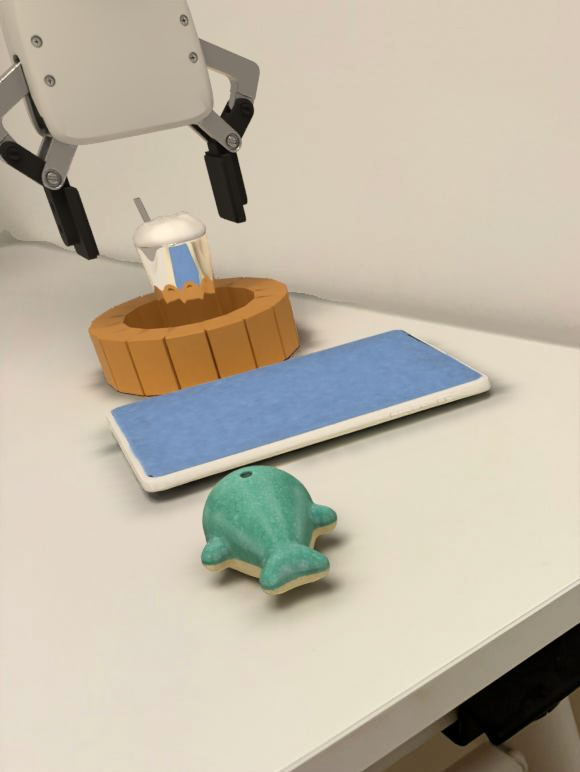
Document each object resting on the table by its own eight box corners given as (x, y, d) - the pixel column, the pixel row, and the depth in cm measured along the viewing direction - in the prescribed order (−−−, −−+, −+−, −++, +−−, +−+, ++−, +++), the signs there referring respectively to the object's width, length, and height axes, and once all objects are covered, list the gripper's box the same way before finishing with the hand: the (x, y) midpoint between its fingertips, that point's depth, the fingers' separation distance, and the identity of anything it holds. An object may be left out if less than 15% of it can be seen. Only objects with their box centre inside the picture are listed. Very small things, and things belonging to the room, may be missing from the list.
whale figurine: (319, 511, 42) (299, 434, 40) (373, 582, 36) (353, 496, 34) (194, 551, 40) (165, 473, 38) (230, 632, 35) (200, 546, 32)
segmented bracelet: (86, 365, 65) (67, 316, 62) (254, 315, 70) (242, 267, 68) (142, 412, 55) (122, 355, 53) (331, 350, 61) (319, 296, 59)
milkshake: (212, 341, 65) (167, 189, 60) (253, 353, 62) (209, 193, 56) (156, 362, 63) (103, 206, 57) (194, 375, 60) (143, 211, 54)
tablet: (406, 343, 60) (402, 322, 59) (498, 396, 50) (496, 373, 50) (109, 430, 54) (101, 408, 53) (152, 509, 44) (142, 484, 43)
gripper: (191, -111, 54) (263, 201, 64) (-125, -85, 47) (11, 261, 57) (240, -129, 49) (310, 214, 59) (-108, -103, 42) (39, 282, 52)
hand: (163, 237), depth 58 cm, fingers open, 9 cm apart
